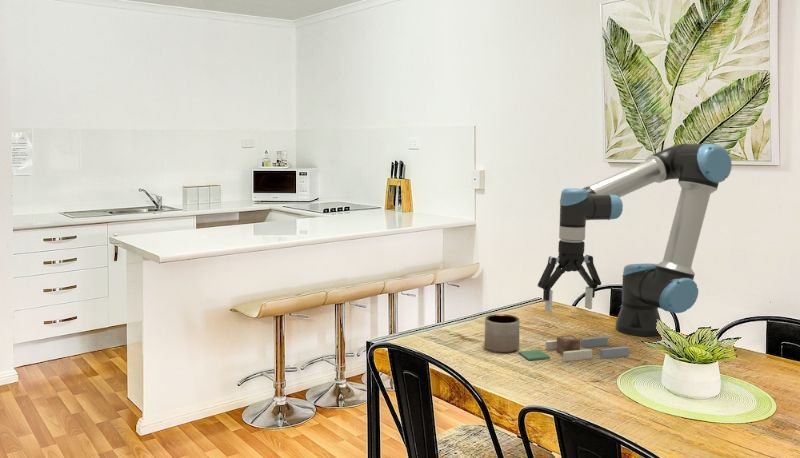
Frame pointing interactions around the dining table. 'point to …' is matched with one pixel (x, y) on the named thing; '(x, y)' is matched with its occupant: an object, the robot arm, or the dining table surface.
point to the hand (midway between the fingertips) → (568, 309)
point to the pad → (534, 355)
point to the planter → (502, 333)
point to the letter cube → (567, 344)
